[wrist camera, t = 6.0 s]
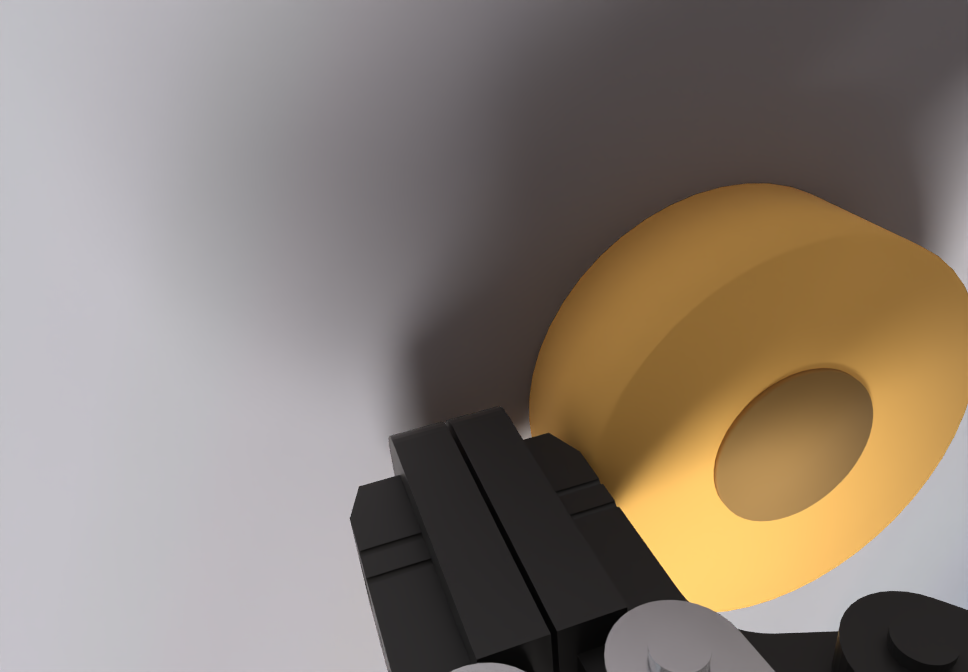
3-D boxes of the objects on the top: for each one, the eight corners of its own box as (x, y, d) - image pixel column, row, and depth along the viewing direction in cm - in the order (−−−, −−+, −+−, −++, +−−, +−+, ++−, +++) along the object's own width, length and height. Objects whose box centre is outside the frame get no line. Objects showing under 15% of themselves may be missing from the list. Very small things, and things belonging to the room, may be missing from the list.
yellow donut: (510, 227, 10) (585, 302, 8) (894, 145, 12) (1032, 193, 10) (535, 558, 13) (595, 669, 11) (838, 462, 15) (935, 546, 13)
